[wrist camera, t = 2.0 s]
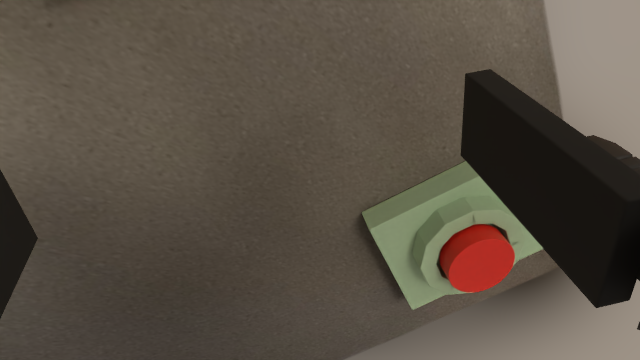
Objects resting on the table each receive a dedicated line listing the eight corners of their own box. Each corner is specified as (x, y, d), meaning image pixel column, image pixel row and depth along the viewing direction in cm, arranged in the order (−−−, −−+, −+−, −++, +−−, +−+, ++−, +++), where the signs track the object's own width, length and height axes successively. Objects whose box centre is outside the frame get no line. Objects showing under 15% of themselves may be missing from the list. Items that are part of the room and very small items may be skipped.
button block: (507, 140, 36) (537, 167, 33) (531, 231, 42) (559, 262, 38) (361, 212, 37) (375, 245, 34) (403, 291, 43) (420, 327, 39)
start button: (494, 212, 35) (507, 227, 33) (509, 257, 38) (521, 273, 36) (430, 243, 35) (440, 259, 34) (449, 286, 38) (459, 302, 37)
